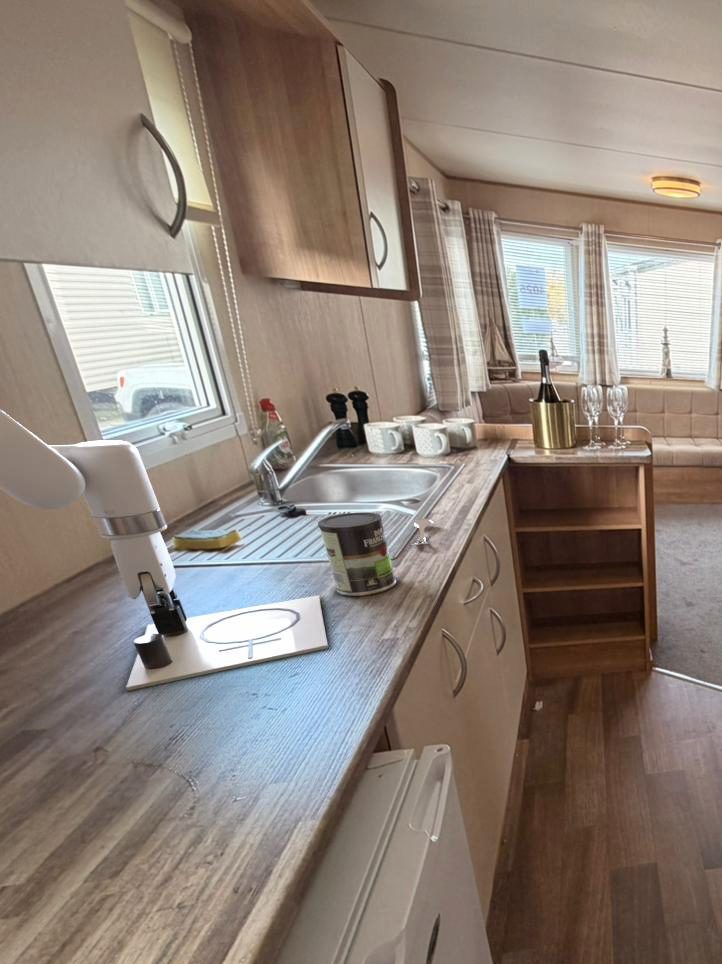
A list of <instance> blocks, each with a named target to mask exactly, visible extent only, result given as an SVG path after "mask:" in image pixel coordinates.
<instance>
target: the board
mask: <svg viewBox="0 0 722 964" xmlns="http://www.w3.org/2000/svg"><path fill="white" fill-rule="evenodd" d="M186 625H187V627H188V631H187V632H186V633H184V634H181V635H178V636H172V637H165V636H163V638H164V640H165V643H166V645H167V647H168V650H169V652H170V655H171V657H172V659H173V662H172V663H171V664H170V665H168V666H165V667H162V668H158V669H145V667H144V665H143V663H142V661H141V658H140V656H139V654H138V653H137V655H136V657H135V659H134V663H133V667H132V669H131V672H130V675H129V678H128V680H127V684H126V685H125V689H126V691H128V692H129V691H133V690H134V691H135V690H137V689H143V688H147V687H152V686H156V685H161V684H166V683H171V682H175V681H181V680H185V679H190V678H194V677H195V678H196V677H199V676H204V675H209V674H213V673H218V672H223V671H227V670H232V669H236V668H242V667H247V666H250V665H256V664H260V663H264V662H265V663H266V662H269V661H274V660H279V659H284V658H288V657H293V656H297V655H298V656H299V655H302V654H308V653H311V652H317V651H322V650H326V649H329V644H328V639H327V632H326V627H325V622H324V617H323V609H322V602H321V598H320V595H318V594H317V595H313V596H312V595H311V596H306V597H300V598H295V599H290V600H289V599H288V600H283V601H278V602H272V603H266V604H259V605H254V606H249V607H243V608H237V609H232V610H226V611H220V612H214V613H208V614H201V615H197V616H192V617H187V621H186ZM149 634H159V633H158V631H157V629H156V626H155V624H154V623H152V624H147V625H146V629H145V632H144V635H143V636H145V635H149Z"/></svg>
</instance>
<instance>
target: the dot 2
mask: <svg viewBox="0 0 722 964" xmlns="http://www.w3.org/2000/svg"><path fill="white" fill-rule="evenodd" d="M174 608H177V609H178V611H179V614H180V616H181V619H182V621H183V624H184V627H185V629H184V630H183V631H179V632H174V633H168V634H163V636H165V637H172V636H178V635H181V634H184V633H186V632H187V631H188V627H187V625H186V622H185V620H184V617H183V615H182V612H181V610H180V607H179V605H174Z"/></svg>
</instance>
